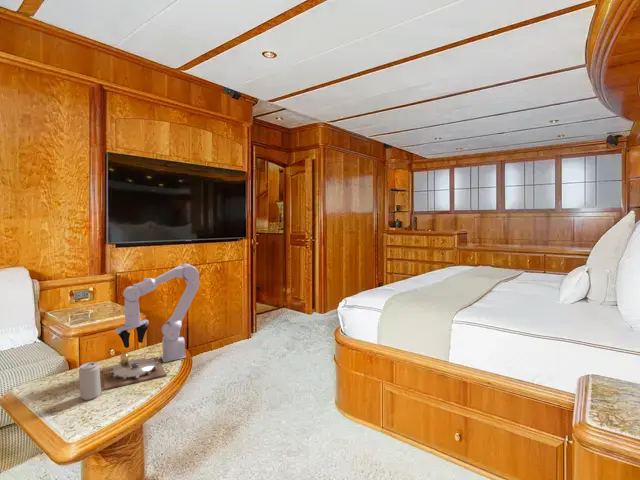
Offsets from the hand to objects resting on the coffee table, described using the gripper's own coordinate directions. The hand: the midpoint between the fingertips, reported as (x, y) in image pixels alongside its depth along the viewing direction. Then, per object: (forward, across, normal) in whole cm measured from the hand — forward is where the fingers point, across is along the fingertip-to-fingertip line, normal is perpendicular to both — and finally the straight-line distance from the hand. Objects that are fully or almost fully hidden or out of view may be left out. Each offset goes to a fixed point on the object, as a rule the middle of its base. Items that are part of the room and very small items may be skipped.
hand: (133, 344), depth 160 cm
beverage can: (+10, +25, +10) cm, 28 cm away
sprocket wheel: (+8, +5, +6) cm, 11 cm away
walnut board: (+9, +4, +6) cm, 12 cm away
